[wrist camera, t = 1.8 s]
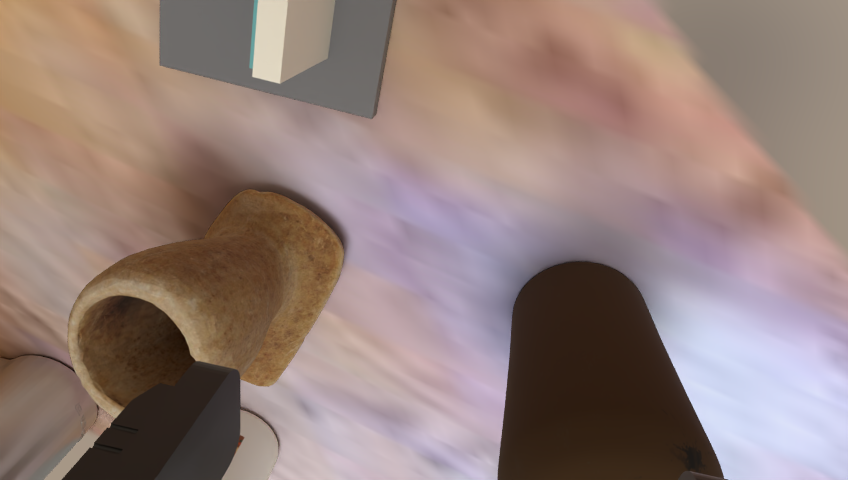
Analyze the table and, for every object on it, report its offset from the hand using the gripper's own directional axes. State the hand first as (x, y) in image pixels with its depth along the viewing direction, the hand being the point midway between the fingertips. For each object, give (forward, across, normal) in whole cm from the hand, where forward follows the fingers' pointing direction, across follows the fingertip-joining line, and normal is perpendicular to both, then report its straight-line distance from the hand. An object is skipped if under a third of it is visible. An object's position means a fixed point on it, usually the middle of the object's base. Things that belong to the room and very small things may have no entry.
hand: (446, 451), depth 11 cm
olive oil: (+29, -8, +15) cm, 34 cm away
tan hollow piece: (+29, +16, +16) cm, 36 cm away
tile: (+28, +11, -5) cm, 30 cm away
